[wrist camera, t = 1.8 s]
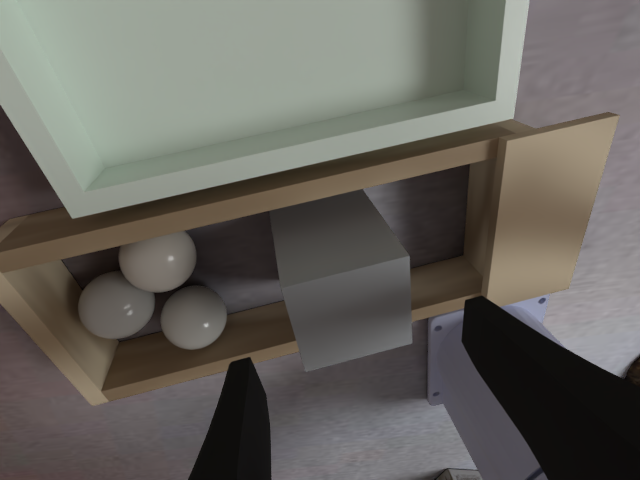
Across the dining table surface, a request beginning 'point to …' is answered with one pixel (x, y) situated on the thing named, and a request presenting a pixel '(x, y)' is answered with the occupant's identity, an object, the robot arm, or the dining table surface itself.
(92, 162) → the green tub
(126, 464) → the dining table surface
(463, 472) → the coffee box
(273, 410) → the dining table surface
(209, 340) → the grey ball
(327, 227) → the stone block
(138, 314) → the grey ball
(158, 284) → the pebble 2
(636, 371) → the brown rock
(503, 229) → the birch crate
